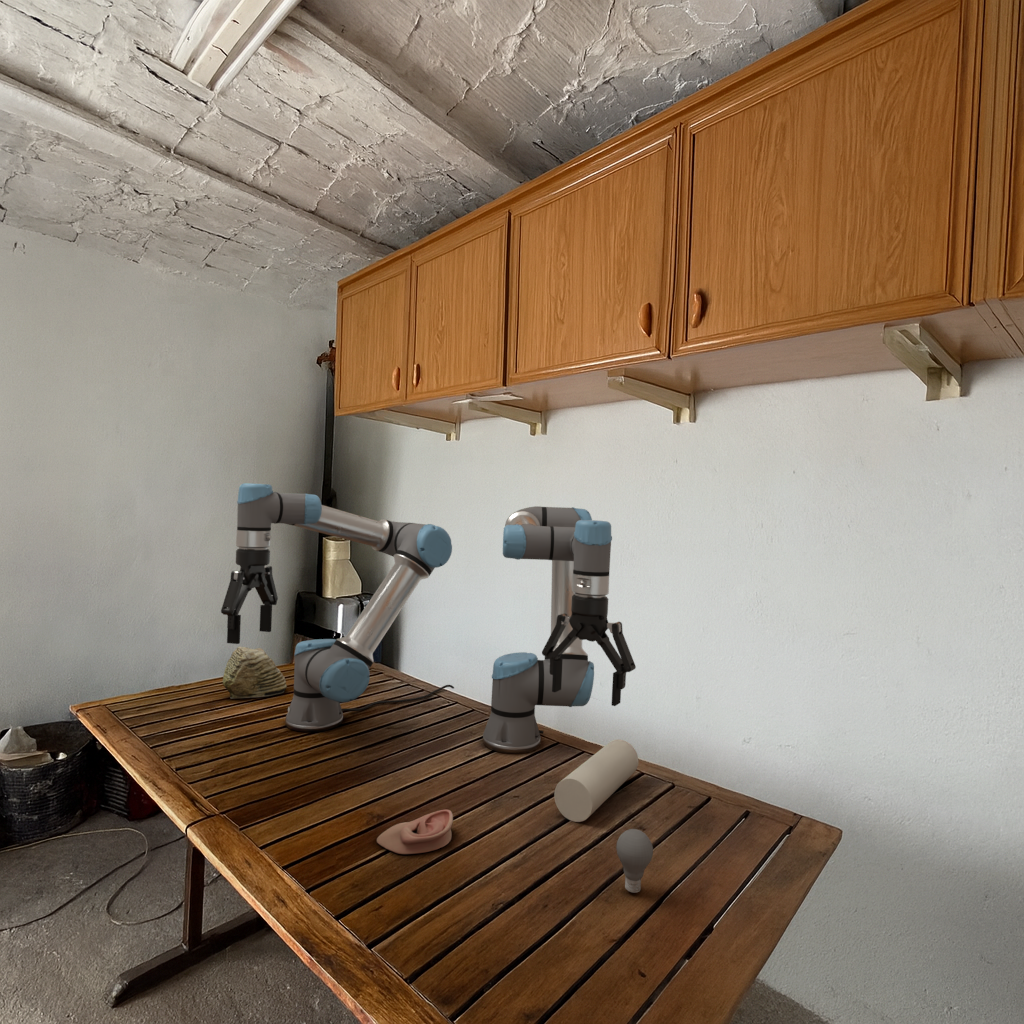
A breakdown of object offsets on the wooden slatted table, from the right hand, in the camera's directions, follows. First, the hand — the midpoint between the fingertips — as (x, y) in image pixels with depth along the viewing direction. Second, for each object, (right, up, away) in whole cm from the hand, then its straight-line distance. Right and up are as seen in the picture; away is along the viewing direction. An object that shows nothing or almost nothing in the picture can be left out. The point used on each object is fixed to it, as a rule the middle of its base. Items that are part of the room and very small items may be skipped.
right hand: (585, 697), depth 131 cm
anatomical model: (-33, -23, -12) cm, 42 cm away
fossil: (-96, -19, +67) cm, 118 cm away
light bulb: (+5, -25, -25) cm, 36 cm away
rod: (+4, -24, +9) cm, 26 cm away
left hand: (-78, +8, +20) cm, 81 cm away
